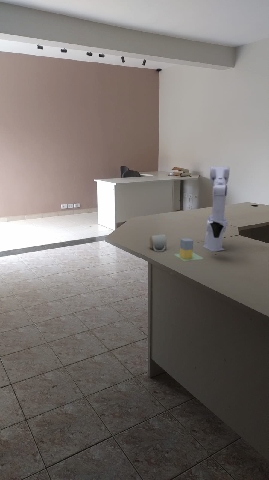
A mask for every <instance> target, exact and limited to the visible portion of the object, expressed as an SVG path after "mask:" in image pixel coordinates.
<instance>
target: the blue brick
mask: <svg viewBox="0 0 269 480" xmlns="http://www.w3.org/2000/svg"><path fill="white" fill-rule="evenodd" d="M180 248H181V249H183V250H194V239H191V238H189V237H188V238H186V237H185V238H180V245H179V249H180Z"/></svg>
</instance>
